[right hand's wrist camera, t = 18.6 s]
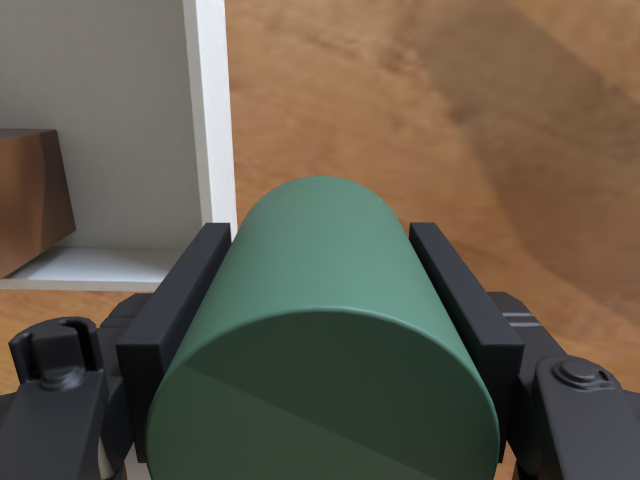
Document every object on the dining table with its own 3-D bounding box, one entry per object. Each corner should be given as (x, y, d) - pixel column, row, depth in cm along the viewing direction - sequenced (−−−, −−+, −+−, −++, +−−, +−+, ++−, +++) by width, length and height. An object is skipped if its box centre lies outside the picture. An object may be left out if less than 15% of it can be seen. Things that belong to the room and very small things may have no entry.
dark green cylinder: (299, 138, 13) (273, 229, 6) (443, 242, 14) (579, 432, 7) (202, 277, 15) (80, 492, 7) (338, 360, 16) (354, 619, 8)
